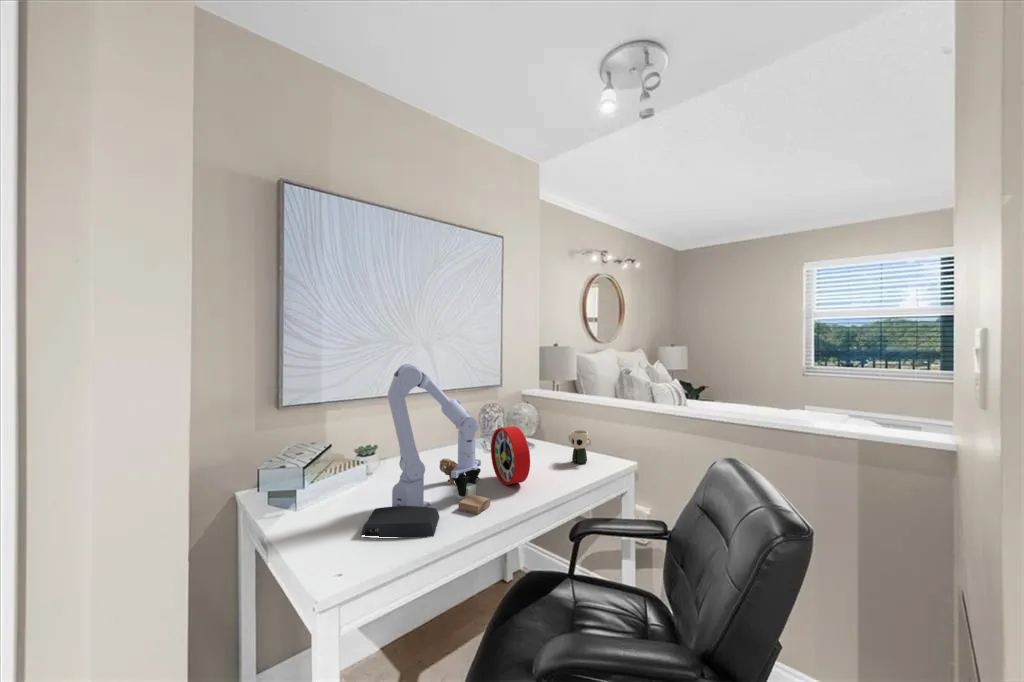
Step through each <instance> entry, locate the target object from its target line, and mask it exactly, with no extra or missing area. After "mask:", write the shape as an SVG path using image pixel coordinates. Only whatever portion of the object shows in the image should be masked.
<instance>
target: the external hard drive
mask: <svg viewBox="0 0 1024 682" xmlns="http://www.w3.org/2000/svg"><path fill="white" fill-rule="evenodd" d="M439 520H440V514H439V511H438V509H437V508H436V507H433V506H393V507H392V506H384V507H383V506H382V507H377V508H374V509H373V511H372V512H371V514H370V515H369V517H368V518H367V520H366V522H365V523H364V524H363V527H362V530H361V533H360V536H361V535H365V536H379V537H419V538H431V537H430V536H432V537H435V535H434V534H436V530H437V528H436V527H437V526H438V523H439ZM427 536H429V537H427Z"/></svg>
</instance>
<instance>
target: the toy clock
mask: <svg viewBox="0 0 1024 682" xmlns="http://www.w3.org/2000/svg"><path fill="white" fill-rule="evenodd" d="M490 454H491V455H490V457H491V463H492V468H493V470H494V474H495V475H496V477H497V479H498V481H499V482H500V483H501V484H502V485H504V486H510V485H515V484H519V483H524V482H525V481H526V480H527V478H528V476H529V473H530V469H531V454H530V447H529V443H528V440H527V438H526V436H525V434H524V432H523V431H522V429H521V428H520V427H519V426H514V425H513V426H506V427H505V426H504V427H498V428H496V429H495V431H494V432H493V435H492V437H491V444H490Z"/></svg>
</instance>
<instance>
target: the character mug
mask: <svg viewBox="0 0 1024 682" xmlns="http://www.w3.org/2000/svg"><path fill="white" fill-rule="evenodd" d="M568 442H570V444H571V447H572V448H573V450H572V458H571V461H572V462H573V463H575V462H576V461H577V462H576V464H585V463H587V462H588V457H587V448H588V447H590V446H591V445H592V438H591V437H589V431H587V430H584V429H583V430H582V429H574V430H572V431H571V433H569V434H568ZM591 447H592V446H591Z"/></svg>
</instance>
